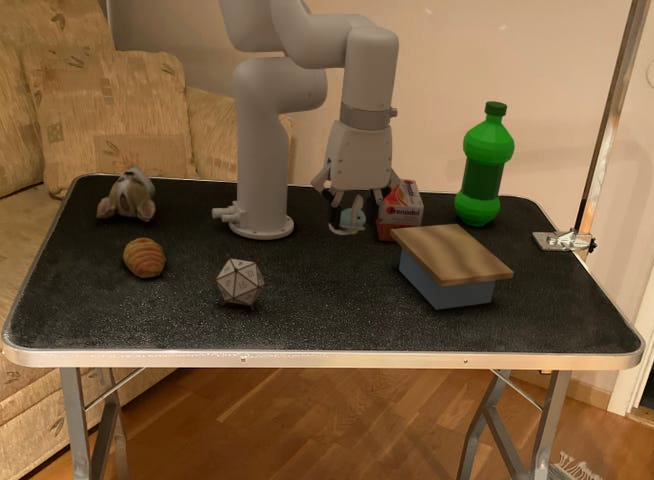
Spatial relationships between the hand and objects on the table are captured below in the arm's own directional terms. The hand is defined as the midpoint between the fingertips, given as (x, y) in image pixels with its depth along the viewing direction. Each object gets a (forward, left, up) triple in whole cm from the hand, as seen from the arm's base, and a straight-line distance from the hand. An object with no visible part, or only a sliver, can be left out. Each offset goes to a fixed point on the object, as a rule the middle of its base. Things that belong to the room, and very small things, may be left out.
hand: (351, 223), depth 123 cm
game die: (-19, -1, -13) cm, 23 cm away
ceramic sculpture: (-30, +37, -13) cm, 49 cm away
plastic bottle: (+39, +22, -13) cm, 47 cm away
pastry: (-31, +15, -13) cm, 37 cm away
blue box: (+18, -3, -12) cm, 22 cm away
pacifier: (-1, 0, -1) cm, 1 cm away
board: (+18, -3, -6) cm, 19 cm away
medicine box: (+20, +22, -13) cm, 33 cm away
